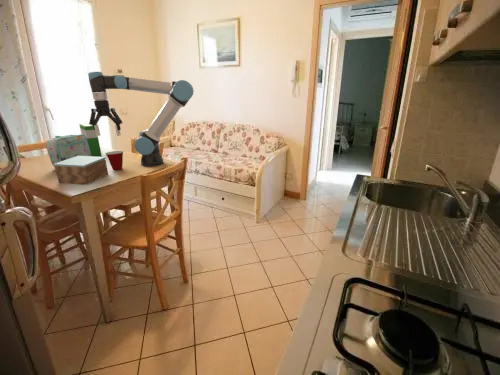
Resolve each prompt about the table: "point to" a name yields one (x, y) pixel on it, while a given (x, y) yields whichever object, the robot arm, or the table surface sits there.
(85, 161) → the pale teal square panel
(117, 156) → the plastic cup
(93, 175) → the wooden box
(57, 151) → the lunch box
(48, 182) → the table surface
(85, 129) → the hardback book
